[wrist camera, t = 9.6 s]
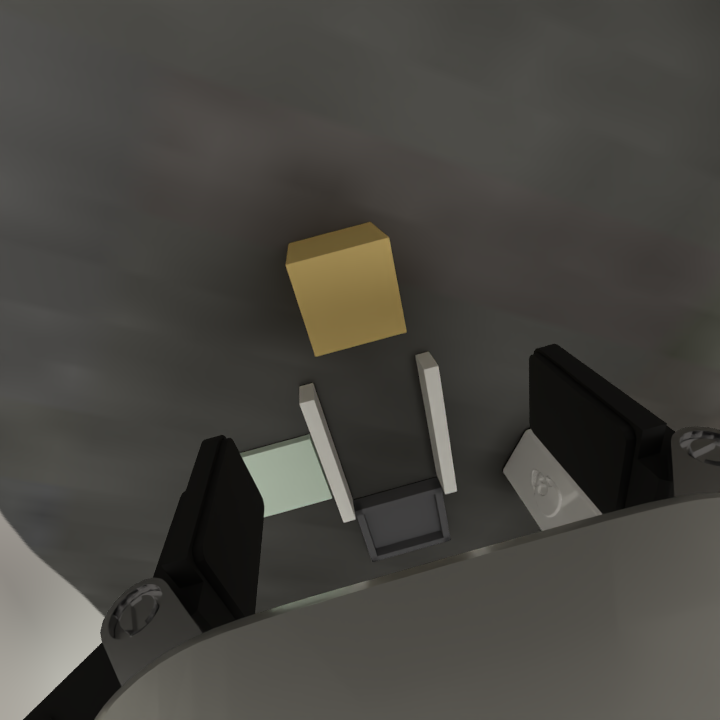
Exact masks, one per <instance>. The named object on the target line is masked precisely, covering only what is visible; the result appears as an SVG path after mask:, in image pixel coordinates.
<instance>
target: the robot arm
mask: <svg viewBox="0 0 720 720" xmlns="http://www.w3.org/2000/svg"><path fill="white" fill-rule="evenodd" d="M529 409H530V427H531V430H532V432H533V433H534V435H535V436H536V437H537V438H538V439H539V440H540V442H541V443H542V444H543V445H544V446H545V447H546V449H547V450H548V451H549V452H550V453H551V454H552V456H553V457H554V458H555V459H556V460H557V461H558V463H559V464H560V465H561V466H562V467H563V468H564V470H565V471H566V472H567V473H568V474H569V475H570V477H571V478H572V479H573V480H574V481H575V482H576V484H577V485H578V486H579V487H580V488H581V490H582V491H583V492H584V493H585V494H586V495H587V497H588V498H589V499H590V500H591V501H592V502H593V504H594V505H595V506H596V507H597V508H598V509H599V511H600V512H601V513H602V515H598V516H594V517H591V518H587V519H583V520H580V521H576V522H572V523H569V524H565V525H562V526H558V527H554V528H551V529H547V530H544V531H540V532H536V533H533V534H529V535H526V536H522V537H518V538H515V539H511V540H508V541H504V542H501V543H497V544H493V545H490V546H486V547H483V548H479V549H476V550H472V551H469V552H465V553H462V554H458V555H455V556H451V557H448V558H444V559H441V560H437V561H434V562H430V563H427V564H423V565H420V566H416V567H413V568H409V569H406V570H402V571H399V572H395V573H391V574H388V575H385V576H381V577H378V578H374V579H371V580H367V581H364V582H361V583H357V584H354V585H350V586H347V587H343V588H340V589H336V590H333V591H330V592H326V593H323V594H319V595H316V596H312V597H309V598H305V599H302V600H299V601H296V602H292V603H289V604H286V605H283V606H279V607H276V608H273V609H270V610H266V611H263V612H260V613H257V614H255V607H256V596H257V585H258V574H259V563H260V553H261V542H262V531H263V520H264V501H263V498H262V496H261V494H260V492H259V490H258V488H257V486H256V484H255V482H254V480H253V478H252V476H251V474H250V472H249V470H248V468H247V466H246V465H245V463H244V461H243V459H242V457H241V455H240V453H239V451H238V449H237V447H236V445H235V443H234V441H233V440H232V439H231V438H228V439H226V437H225V436H224V435H220V436H217V437H213V438H209V439H206V440H204V441H203V442H202V444H201V447H200V450H199V453H198V456H197V459H196V462H195V465H194V468H193V471H192V474H191V477H190V480H189V483H188V486H187V489H186V491H185V492H183V493H182V495H181V497H180V500H179V503H178V506H177V509H176V512H175V515H174V518H173V521H172V523H171V526H170V529H169V532H168V535H167V538H166V541H165V544H164V547H163V550H162V553H161V556H160V559H159V561H158V564H157V567H156V570H155V573H154V576H153V578H149V579H144V580H142V581H140V582H138V583H136V584H134V585H133V586H131V587H130V588H129V589H127V590H126V591H125V592H124V593H123V594H122V595H121V596H120V597H119V598H118V599H117V600H116V601H115V602H114V603H113V605H112V606H111V607H110V609H109V610H108V612H107V614H106V616H105V618H104V620H103V623H102V627H101V632H100V633H101V640H102V643H101V644H100V645H99V646H98V647H97V648H96V649H95V650H94V651H93V652H92V653H91V654H90V655H89V656H88V657H87V658H86V659H85V660H84V661H83V662H82V663H81V664H80V665H79V666H78V667H77V668H75V669H74V670H73V672H71V673H70V674H69V675H68V676H67V677H66V678H65V679H64V680H63V681H62V682H61V683H60V684H59V685H58V686H57V687H56V688H55V689H54V690H53V691H52V692H51V693H50V694H49V695H48V696H47V697H46V698H45V699H44V700H43V701H42V702H41V703H40V704H39V705H38V706H37V707H36V708H34V709H33V710H32V711H31V712H30V713H29V715H27V716H26V717H25V718H24V719H23V720H720V430H719V429H715V428H710V427H700V426H693V427H685V428H682V429H680V430H677V431H676V432H675V431H673V430H672V429H671V428H669V427H668V426H667V423H665V422H664V421H662V420H661V419H660V418H658V417H657V416H655V415H654V414H653V413H651V412H650V411H649V410H647V409H646V408H644V407H643V406H642V405H640V404H639V403H637V402H636V401H635V400H633V399H632V398H631V397H629V396H628V395H626V394H625V393H624V392H622V391H621V390H619V389H618V388H617V387H615V386H614V385H612V384H611V383H610V382H608V381H607V380H606V379H604V378H603V377H601V376H600V375H599V374H597V373H596V372H594V371H593V370H592V369H590V368H589V367H588V366H586V365H585V364H583V363H582V362H581V361H579V360H578V359H576V358H575V357H574V356H572V355H571V354H569V353H568V352H567V351H565V350H564V349H563V348H561V347H560V346H558V345H556V344H552V345H548V346H545V347H541V348H537V349H536V350H535V351H534V354H533V355H531V356H530V358H529Z"/></svg>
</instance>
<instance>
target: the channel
mask: <svg viewBox="0 0 720 720" xmlns="http://www.w3.org/2000/svg"><path fill="white" fill-rule="evenodd" d="M415 357H416V363H417V369H418V374H419V380H420V385H421V391H422V396H423V402H424V407H425V413H426V419H427V424H428V430H429V435H430V441H431V446H432V452H433V458H434V463H435V469H436V474H437V477H438V479H439V481H440V484H441V486H442V488H443V491H444V493H445V494H449V493H452V492H456V491H457V487H456V481H455V474H454V467H453V460H452V454H451V447H450V440H449V433H448V427H447V420H446V413H445V406H444V400H443V393H442V386H441V379H440V373H439V366H438V364H437V363H436V361H435V360H434V359H433V357H432V356H431V354H430V353H429V351H428V352H425V353H421V354H417V355H415ZM299 404H300V407H301V410H302V412H303V415H304V418H305V420H306V423H307V426H308V428H309V431H310V434H311V436H312V439H313V442H314V444H315V447H316V450H317V452H318V455H319V458H320V460H321V463H322V466H323V469H324V471H325V474H326V477H327V479H328V482H329V485H330V487H331V490H332V493H333V495H334V498H335V501H336V503H337V506H338V509H339V511H340V514H341V517H342V519H343V522H348V521H352V520H355V519H356V518H355V512H354V505H353V499H352V496H351V493H350V490H349V487H348V484H347V481H346V478H345V475H344V472H343V469H342V466H341V463H340V460H339V457H338V455H337V452H336V449H335V446H334V443H333V440H332V437H331V434H330V431H329V428H328V425H327V422H326V419H325V416H324V413H323V411H322V408H321V405H320V402H319V399H318V396H317V393H316V390H315V387H314V384H313V383H311V384H307V385H303V386H299Z"/></svg>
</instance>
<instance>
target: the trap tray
mask: <svg viewBox="0 0 720 720" xmlns="http://www.w3.org/2000/svg"><path fill="white" fill-rule="evenodd" d="M353 503H354V509H355V513H356V516H357V519H358V522H359V525H360V528H361V531H362V534H363V537H364V539H365V542H366V545H367V548H368V551H369V554H370V557H371V560H372V562H375V561H378V560H382V559H385V558H389V557H392V556H396V555H399V554H403V553H407V552H410V551H414V550H417V549H421V548H424V547H428V546H432V545H435V544H439V543H442V542H446V541H449V540H451V539H450V533H449V527H448V521H447V516H446V510H445V504H444V499H443V493H442V487H441V485H440V483H439V480H438V478H437V477H435V478H432V479H428V480H424V481H421V482H417V483H414V484H410V485H406V486H403V487H399V488H396V489H392V490H388V491H385V492H381V493H377V494H374V495H370V496H367V497H363V498H359V499H356V500H353Z"/></svg>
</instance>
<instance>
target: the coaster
mask: <svg viewBox="0 0 720 720" xmlns="http://www.w3.org/2000/svg"><path fill="white" fill-rule="evenodd" d="M240 455H241V457H242V459H243V461H244V463H245V465H246V466H247V468H248V470H249V472H250V474H251V476H252V478H253V480H254V482H255V484H256V486H257V488H258V490H259V492H260V494H261V496H262V498H263V501H264V517H267V516H271V515H274V514H278V513H282V512H285V511H289V510H292V509H296V508H300V507H303V506H307V505H310V504H314V503H318V502H321V501H325V500H328V499H332V492H331V490H330V487H329V484H328V482H327V479H326V476H325V474H324V471H323V468H322V466H321V463H320V460H319V458H318V455H317V452H316V450H315V447H314V444H313V442H312V439H311V436H310V434H308V435H305V436H301V437H297V438H294V439H290V440H286V441H283V442H279V443H275V444H272V445H268V446H264V447H261V448H257V449H253V450H250V451H246V452H242V453H240Z"/></svg>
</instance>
